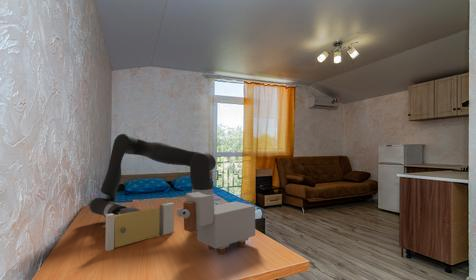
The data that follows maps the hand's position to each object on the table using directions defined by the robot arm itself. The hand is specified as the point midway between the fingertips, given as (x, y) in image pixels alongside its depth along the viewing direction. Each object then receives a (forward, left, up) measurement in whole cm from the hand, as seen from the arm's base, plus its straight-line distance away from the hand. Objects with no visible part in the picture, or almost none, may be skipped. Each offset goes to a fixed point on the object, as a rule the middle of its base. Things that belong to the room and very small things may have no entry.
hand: (133, 221), depth 94 cm
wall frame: (-5, +2, -7) cm, 8 cm away
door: (-3, +4, -7) cm, 8 cm away
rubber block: (+2, -2, -6) cm, 7 cm away
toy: (-32, +16, -7) cm, 36 cm away
